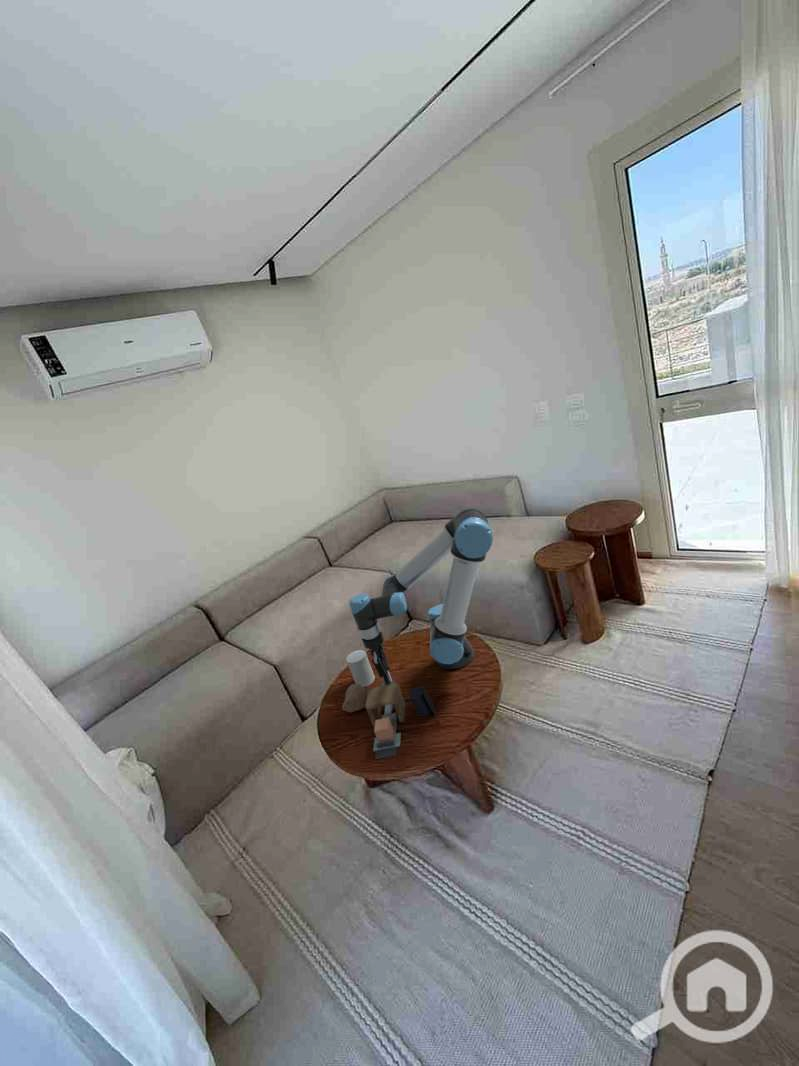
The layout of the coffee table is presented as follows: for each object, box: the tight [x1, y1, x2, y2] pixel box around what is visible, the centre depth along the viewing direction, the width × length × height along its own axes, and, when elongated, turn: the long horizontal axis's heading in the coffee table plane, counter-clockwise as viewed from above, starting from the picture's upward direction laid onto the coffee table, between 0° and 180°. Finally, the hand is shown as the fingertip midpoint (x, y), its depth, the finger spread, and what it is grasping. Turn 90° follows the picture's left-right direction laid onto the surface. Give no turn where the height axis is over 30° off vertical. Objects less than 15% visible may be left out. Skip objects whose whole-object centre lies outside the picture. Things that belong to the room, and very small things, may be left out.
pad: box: [372, 732, 402, 752], centre depth 144 cm, size 9×6×1 cm, turn 87°
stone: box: [341, 683, 368, 713], centre depth 165 cm, size 12×9×10 cm
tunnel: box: [365, 682, 406, 729], centre depth 154 cm, size 11×9×9 cm
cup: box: [345, 649, 376, 688], centre depth 177 cm, size 8×8×12 cm
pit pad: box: [374, 747, 398, 760], centre depth 139 cm, size 7×3×1 cm, turn 87°
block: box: [373, 717, 393, 742], centre depth 143 cm, size 5×5×5 cm
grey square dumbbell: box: [376, 680, 398, 748], centre depth 153 cm, size 6×26×5 cm, turn 177°
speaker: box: [408, 683, 437, 717], centre depth 150 cm, size 8×6×10 cm
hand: (389, 686), depth 166 cm, fingers closed
